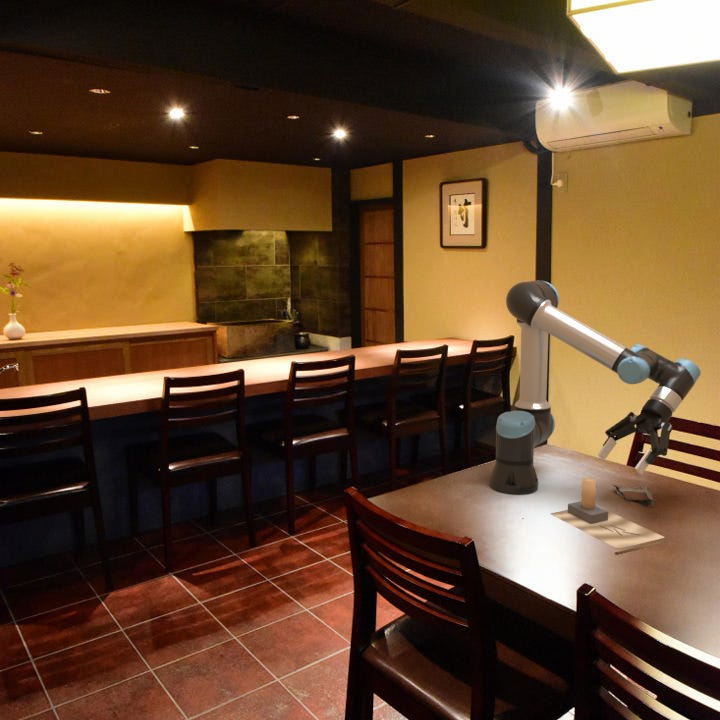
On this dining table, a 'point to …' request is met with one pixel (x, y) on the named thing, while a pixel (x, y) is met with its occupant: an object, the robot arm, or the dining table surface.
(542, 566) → the dining table surface
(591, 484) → the sanding block
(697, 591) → the dining table surface
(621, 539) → the birch board
